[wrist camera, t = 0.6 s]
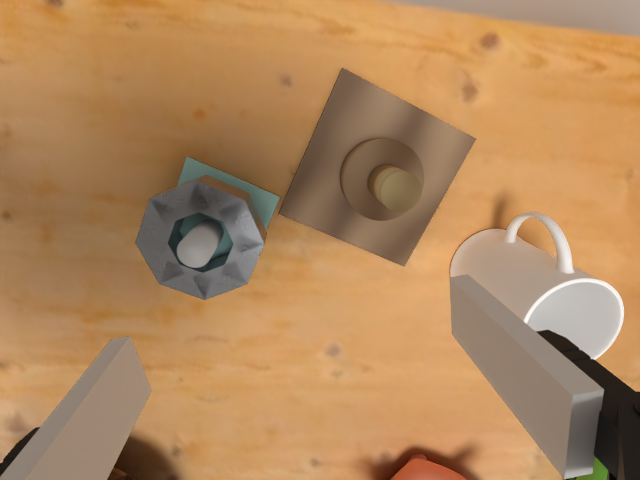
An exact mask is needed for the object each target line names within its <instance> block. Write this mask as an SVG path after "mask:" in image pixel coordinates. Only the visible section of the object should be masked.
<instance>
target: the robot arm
mask: <svg viewBox="0 0 640 480" xmlns="http://www.w3.org/2000/svg"><path fill="white" fill-rule="evenodd" d="M450 299H451V325H452V335H453V336H454V337H455V339H456V340H457V341H458V343H459V344H460V345H461V346H462V348H463V349H464V350H465V352H466V353H467V354H468V355H469V357H470V358H471V359H472V361H473V362H474V363H475V365H476V366H477V367H478V368H479V370H480V371H481V372H482V374H483V375H484V376H485V377H486V379H487V380H488V381H489V383H490V384H491V385H492V386H493V388H494V389H495V390H496V392H497V393H498V394H499V396H500V397H501V398H502V399H503V401H504V402H505V403H506V405H507V406H508V407H509V408H510V410H511V411H512V412H513V414H514V415H515V416H516V418H517V419H518V420H519V421H520V423H521V424H522V425H523V427H524V428H525V429H526V430H527V432H528V433H529V434H530V436H531V437H532V438H533V439H534V441H535V442H536V443H537V445H538V446H539V447H540V449H541V450H542V451H543V452H544V454H545V455H546V456H547V458H548V459H549V460H550V461H551V463H552V464H553V465H554V467H555V468H556V469H557V470H558V472H559V473H560V474H561V476H562V477H563V478H564V479H568V478H573V477H578V476H582V475H587V474H592V473H593V466H594V459H595V457H596V458H597V459H598V460H599V461H600V462H601V463H602V464H603V465H604V466H605V468H606V469H607V470H608V473H607V479H606V480H640V392H635V391H634V390H633V389H631V388H630V387H629V386H627V385H626V384H625V383H624V382H622V381H621V380H620V379H618V378H617V377H616V376H615V375H613V374H612V373H611V372H609V371H608V370H607V369H606V368H604V367H603V366H602V365H600V364H599V363H598V362H597V361H595V360H594V359H591V358H590V356H589V355H588V354H586V353H585V352H584V351H582V350H579V347H577V346H576V345H575V344H573V343H572V342H571V341H570V340H568V339H567V338H566V337H564V336H561V335H559V334H557V333H555V332H552V331H550V330H543V331H537V332H536V331H534V330H533V329H532V328H531V327H530V326H528V325H527V324H526V323H525V322H524V321H523V320H521V319H520V318H519V317H518V316H517V315H515V314H514V313H513V312H512V311H511V310H510V309H508V308H507V307H506V306H505V305H504V304H502V303H501V302H500V301H499V300H498V299H497V298H495V297H494V296H493V295H492V294H491V293H489V292H488V291H487V290H486V289H485V288H484V287H482V286H481V285H480V284H479V283H478V282H476V281H475V280H474V279H473V278H472V277H471V276H469V275H468V274H465V275H460V276H455V277H450ZM151 391H152V390H151V387H150V385H149V382H148V380H147V377H146V374H145V372H144V369H143V367H142V364H141V362H140V359H139V357H138V354H137V352H136V349H135V346H134V344H133V341H132V339H131V336H127V337H122V338H116V339H111V340H110V342H109V343H108V344H107V345H106V346H105V348H104V349H103V350H102V351H101V353H100V354H99V355H98V356H97V358H96V359H95V360H94V361H93V363H92V364H91V365H90V366H89V368H88V369H87V370H86V371H85V372H84V374H83V375H82V376H81V377H80V379H79V380H78V381H77V382H76V384H75V385H74V386H73V387H72V389H71V390H70V391H69V392H68V394H67V395H66V396H65V397H64V399H63V400H62V401H61V402H60V403H59V405H58V406H57V407H56V408H55V410H54V411H53V412H52V413H51V415H50V416H49V417H48V418H47V420H46V421H45V422H44V423H43V425H42V426H41V427H38V428H35V429H34V430H32V431H31V432H30V433H29V434H28V435H26V436H25V437H24V438H23V439H22V440H20V441H19V442H18V443H17V444H16V445H15V446H14V448H13V449H12V450H11V451H10V452H9V453H8V455H7V456H6V457H5V458H4V459H3V463H0V480H107V479H108V477H109V475H110V473H111V471H112V469H113V467H114V465H115V463H116V461H117V459H118V457H119V455H120V453H121V451H122V449H123V447H124V445H125V443H126V441H127V439H128V437H129V435H130V433H131V431H132V429H133V427H134V425H135V423H136V421H137V419H138V417H139V415H140V413H141V411H142V409H143V407H144V405H145V403H146V401H147V399H148V397H149V395H150V393H151Z"/></svg>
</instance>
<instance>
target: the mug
mask: <svg viewBox="0 0 640 480" xmlns="http://www.w3.org/2000/svg"><path fill="white" fill-rule="evenodd" d="M531 217H532V218H536V219H538V220H539V221H541V222H542V223H543V224H544V225H545V226H546V227H547V229H548V230H549V232H550V233H551V235H552V238H553V240H554V243H555V246H556V251H557V257H555V256H553V255H551V254H549V253H547V252H545V251H543V250H541V249H539V248H537V247H535V246H533V245H531V244H529V243H527V242H525V241H523V240H522V239H521V238H520V237H519V236H517V235H516V234H517V231H518V228H519V227H520V225H521V224H522V222H523V221H525V220H526V219H528V218H531ZM465 274H468V275H469V276H471V277H472V278H473V279H474V280H475V281H476V282H478V283H479V284H480V285H481V286H482V287H484V288H485V289H486V290H487V291H488V292H489V293H491V294H492V295H493V296H494V297H495V298H497V299H498V300H499V301H500V302H501V303H502V304H504V305H505V306H506V307H507V308H508V309H510V310H511V311H512V312H513V313H514V314H515V315H517V316H518V317H519V318H520V319H521V320H523V321H524V322H525V323H526V324H527V325H528V326H530V327H531V328H532V329H533V330H534V331H536V332H537V331H543V330H550V331H552V332H555V333H557V334H559V335H561V336H564V337H566V338H567V339H568V340H570V341H571V342H572V343H573V344H575V345H576V346H577V347H579V350H582V351H584V352H585V353H586V354H588V355H589V356H590V358H591V359H594V360H595V359H597V358H598V357H599V356H601V355H602V354H603V353H604V352H605V351H606V350H607V349H608V348H609V347H610V346H611V345H612V343H613V342H614V340H615V339H616V337H617V336H618V334H619V332H620V329H621V327H622V323H623V319H624V306H623V302H622V299H621V297H620V295H619V294H618V292H617V291H616V290H615V289H614V288H613V287H612V286H611V285H609V284H608V283H606V282H604V281H602V280H600V279H598V278H596V277H594V276H592V275H590V274H588V273H586V272H584V271H582V270H580V269H579V268H577V267H575V266H573V265H572V257H571V252H570V248H569V245H568V242H567V239H566V237H565V235H564V233H563V232H562V230H561V229H560V227H559V226H558V225H557V223H556V222H555V221H554V220H552V219H551V218H550V217H548V216H547V215H545V214H542V213H539V212H525V213H522V214H519V215H518V216H516V217H515V218H514V219H513V220H512V221H511V222H510V224H509V226H508V228H507V230H504V229H487V230H483V231H480V232H478V233H476V234H474V235H472V236H471V237H469V238H468V239H467V240H465V241H464V242H463V243H462V244H461V246H460V247H459V248H458V249H457V251H456V253H455V254H454V256H453V259H452V262H451V266H450V277H455V276H460V275H465Z"/></svg>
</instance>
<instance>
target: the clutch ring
mask: <svg viewBox="0 0 640 480" xmlns="http://www.w3.org/2000/svg"><path fill="white" fill-rule="evenodd" d="M197 212H200V213H203V214H205V215H207V216H210V217H212V218H215V219H217V220H220V221H222V222H223V223H224V225H225V227H226V229H227V231H228V233H229V235H230V237H231V239H232V241H233V247H232V249H231V251H230V252H229V253H226V254H224V255H221V256H218V257H216V258H213V259H210V260H209V261H208V263H207V264H205V265H204V266H202V267H198V268H193V267H189V266H186V265H185V264H183V263H182V262H181V261H180V259H179V258H178V255H177V247H178V244H179V243H180V241H181V240H182V239H183V238H182V236H181V234H180V232H179V231H180V228H181V226H182V223H183V220H184V217H187V216H190V215H192V214H195V213H197ZM266 235H267V232H266V230H265V227H264V225H263V223H262V221H261V218H260V216H259V214H258V211H257V209H256V207H255V205H254V202H253V200H252V198H251V196H250V193H248V192H246V191H243V190H241V189H239V188H236V187H234V186H232V185H229V184H227V183H225V182H222V181H220V180H217V179H215V178H213V177H210V176H208V175H204V176H201V177H199V178H196V179H193V180H191V181H188V182H186V183H183V184H180V185H178V186H175V187H173V188H170V189H168V190H165V191H163V192H161V193H159V194H157V195H155V196H153V197H151V198H150V199H149V202H148V205H147V208H146V211H145V214H144V217H143V220H142V224H141V227H140V230H139V233H138V236H137V239H136V245H137V246H138V248H139V250H140V252H141V253H142V255H143V257H144V258H145V260H146V262H147V264H148V265H149V267H150V269H151V270H152V272H153V274H154V276H155V277H156V279H157V281H158V283H159V284H161V285H164V286H167V287H170V288H172V289H175V290H178V291H181V292H184V293H187V294H189V295H192V296H195V297H198V298H201V299H203V300H206V299H208V298H211V297H214V296H217V295H219V294H222V293H225V292H227V291H230V290H233V289H235V288H238V287H241V286H243V285H246V284H247V283H248V281H249V279H250V276H251V274H252V272H253V269H254V267H255V265H256V263H257V260H258V258H259V256H260V253H261V251H262V249H263V246H264V244H265V240H266Z"/></svg>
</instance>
